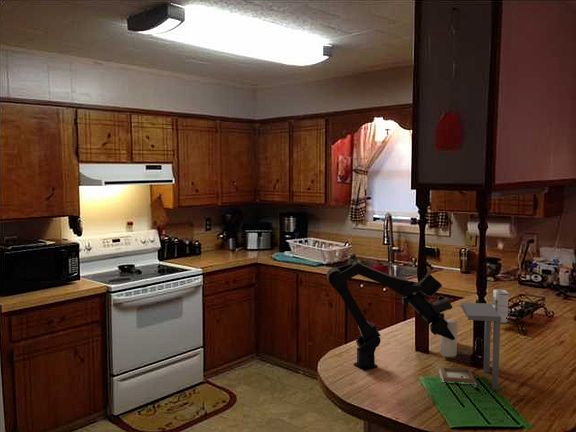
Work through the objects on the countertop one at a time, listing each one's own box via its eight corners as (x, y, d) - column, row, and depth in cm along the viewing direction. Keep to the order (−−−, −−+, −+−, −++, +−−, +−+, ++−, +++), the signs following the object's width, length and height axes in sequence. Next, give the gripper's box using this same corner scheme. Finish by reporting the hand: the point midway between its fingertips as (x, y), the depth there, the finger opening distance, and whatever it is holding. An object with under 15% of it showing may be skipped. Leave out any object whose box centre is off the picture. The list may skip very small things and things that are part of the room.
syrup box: (491, 319, 244) (492, 289, 243) (504, 319, 243) (505, 289, 242) (494, 322, 238) (495, 292, 237) (508, 323, 238) (509, 292, 236)
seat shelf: (443, 386, 170) (444, 314, 168) (438, 367, 186) (439, 301, 184) (498, 390, 167) (501, 316, 165) (488, 370, 183) (490, 303, 180)
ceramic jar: (437, 353, 187) (437, 321, 186) (447, 350, 190) (448, 318, 189) (448, 358, 182) (449, 325, 181) (459, 355, 185) (460, 322, 184)
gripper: (441, 297, 175) (474, 330, 175) (435, 284, 194) (465, 314, 193) (417, 318, 178) (450, 351, 177) (414, 304, 196) (443, 333, 195)
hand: (452, 336), depth 185 cm, fingers closed on ceramic jar, 6 cm apart
